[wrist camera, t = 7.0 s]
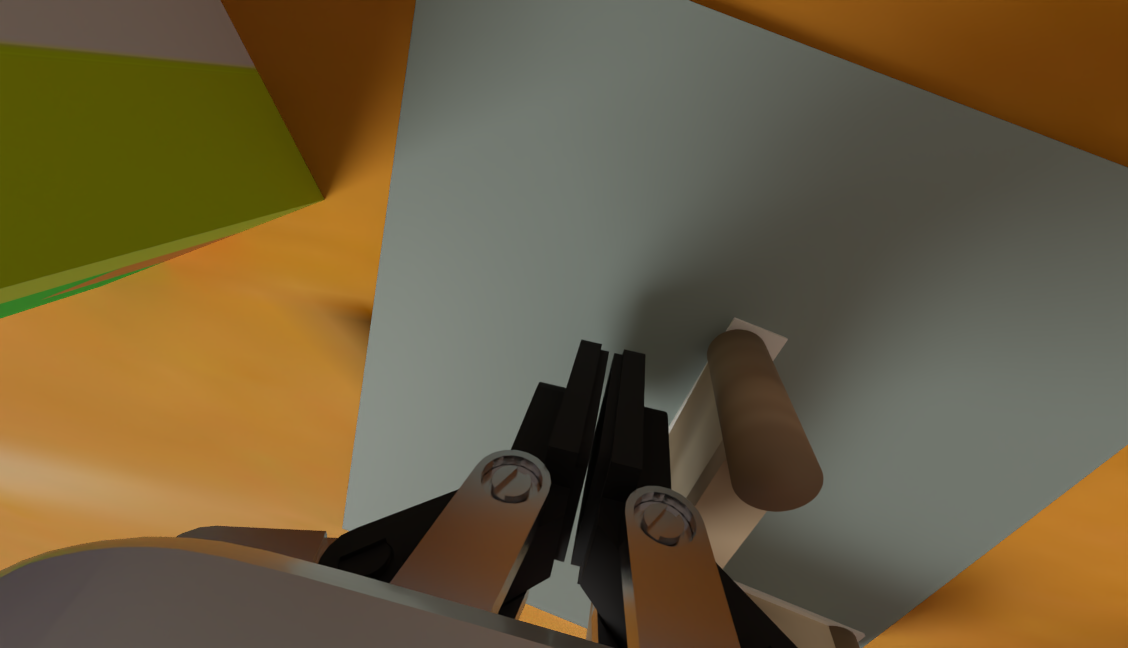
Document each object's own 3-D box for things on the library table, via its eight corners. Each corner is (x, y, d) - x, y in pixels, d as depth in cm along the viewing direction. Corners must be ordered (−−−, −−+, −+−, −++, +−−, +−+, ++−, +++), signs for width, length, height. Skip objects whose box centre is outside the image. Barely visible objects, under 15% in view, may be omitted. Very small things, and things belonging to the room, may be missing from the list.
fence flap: (722, 319, 11) (755, 434, 7) (777, 338, 11) (841, 465, 7) (610, 530, 15) (592, 678, 11) (650, 545, 15) (647, 699, 11)
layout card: (346, 522, 18) (340, 530, 18) (436, -92, 9) (427, -101, 9) (780, 699, 18) (783, 711, 18) (1346, 254, 9) (1376, 261, 8)
